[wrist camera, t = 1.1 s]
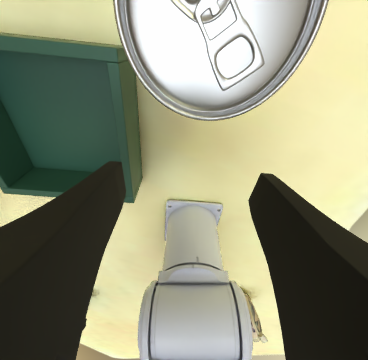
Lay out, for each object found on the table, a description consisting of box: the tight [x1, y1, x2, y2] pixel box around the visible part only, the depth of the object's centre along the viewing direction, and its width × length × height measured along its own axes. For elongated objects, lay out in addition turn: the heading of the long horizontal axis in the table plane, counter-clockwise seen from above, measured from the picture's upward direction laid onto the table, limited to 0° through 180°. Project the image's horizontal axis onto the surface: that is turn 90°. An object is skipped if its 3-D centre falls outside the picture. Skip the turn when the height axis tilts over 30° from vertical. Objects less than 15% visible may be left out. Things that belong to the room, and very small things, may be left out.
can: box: [113, 0, 329, 121], centre depth 10 cm, size 6×6×12 cm
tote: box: [0, 33, 142, 203], centre depth 17 cm, size 14×14×5 cm
